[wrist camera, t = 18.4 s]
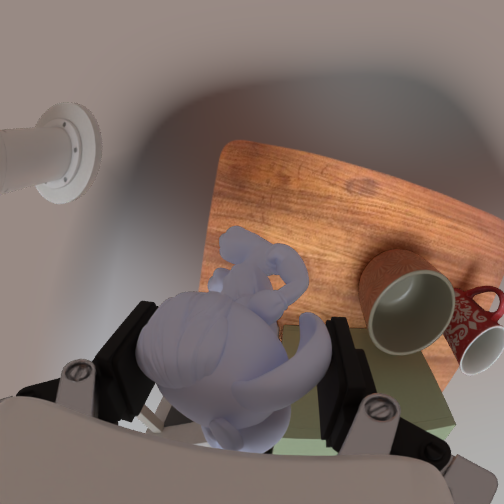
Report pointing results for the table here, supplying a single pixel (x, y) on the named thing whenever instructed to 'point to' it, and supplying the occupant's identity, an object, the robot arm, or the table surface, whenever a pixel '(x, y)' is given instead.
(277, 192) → the table surface
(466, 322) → the mug
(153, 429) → the microwave door
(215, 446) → the toy figurine
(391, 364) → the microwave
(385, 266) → the planter
